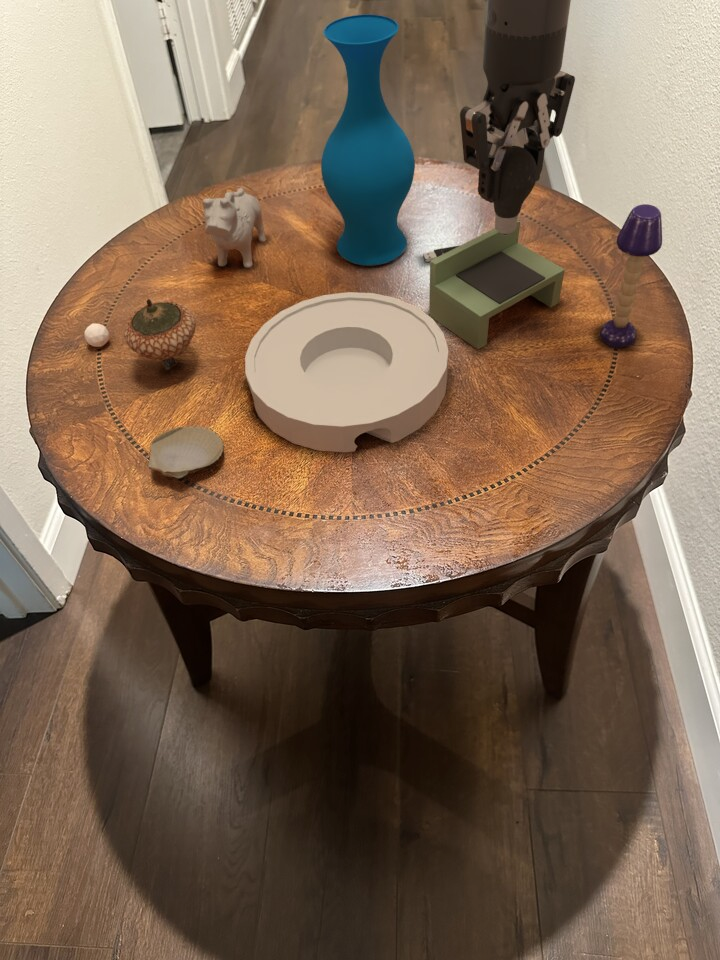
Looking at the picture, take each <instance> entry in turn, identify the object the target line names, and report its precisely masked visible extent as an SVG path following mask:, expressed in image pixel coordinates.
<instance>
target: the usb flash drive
mask: <svg viewBox="0 0 720 960" xmlns="http://www.w3.org/2000/svg"><path fill="white" fill-rule="evenodd" d="M461 245H462V244H460V245H454V246H448V247H443V248H436V249H434V250H433V251H432V252H425V253H422V258H423V259H424V262H430V261H431V260H433V259H435V258H437V257H439V256H441V255H443V254H445V253H447V252H449V251H451V250H453V249H455V248H457V247H459V246H461Z"/></svg>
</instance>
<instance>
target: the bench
mask: <svg viewBox="0 0 720 960" xmlns="http://www.w3.org/2000/svg"><path fill="white" fill-rule="evenodd" d="M520 226H521V220H519V218H518V219H517V226H516V230H515V231H513V232H512V233H509V235H507V236H504V235H502V234H501V233H500V232H498V231H497V230H496V229H495V227H494V228H491V229H490V230H488V231H487V232H484V233H482V234H480V235H478V236H477V237H474V238H472V239H470V240H468V241H466V242H464V243H462V244H460V245H461V246H460V245H458V246H459V247H457V248H455V249H453V250H451V251H449V252H447V253H445V254H443V255H441V256H439V257H437V258H435V259H433V260H431V261H429V307H428V309H429V311H428V316H430V317H431V318H432V319H433V320H434V321H436V322H438V323H439V324H441V325H443V327H445V328H446V329H448V330H449V331H451V332H452V333H453V334H455V335H456V336H458V337H459V338H460V339H461V340H463V341H464V342H466V343H468V345H470V346H471V347H473V348H475V350H478V351H479V350H480V349H482V348H484V347H485V346H487V344H488V335H489V324H490V318H492V317H494V316H495V315H497V314H499V313H501V312H503V311H504V310H507V309H508V308H510V307H512V306H514V305H515V304H517V303H518V302H520V301H522V300H524V299H526V298H527V297H530V296H531V297H533V298H534V299H536V300H538V301H539V302H541V303H542V304H544V305H546V306H547V307H549V308H553V307H555V306H556V305H558V304H560V299H561V293H562V288H563V282H564V277H565V271H566V270H565V268H563V267H561V266H560V265H558V264H556V263H555V262H553V261H551V260H550V259H547V258H546V257H544V256H542V255H540V254H539V253H537V252H535V251H533V250H532V249H530V248H528V247H527V246H525V245H523V244H522V243H520V242H519V236H520V229H521V227H520Z"/></svg>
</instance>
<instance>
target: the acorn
mask: <svg viewBox="0 0 720 960" xmlns="http://www.w3.org/2000/svg"><path fill="white" fill-rule="evenodd" d="M196 325H197V322H196V320H195V317H194V316H193V313H192V311H191V310H190V309H189V308H188V307H187V306H185V305H183V304H182V303H180V302H176V301H166V300H165V301H159V302H154V303H153V302H152V300H151V299H149V298H148V299H147V300H146V305H144V306H142V307H140V308H139V309H137V310H135V312H134V313H133V314H132V315H131V317H130V318H129V319H128V321H126V322H125V327H124V330H123V337H124V340H125V343H126V345H127V346H128V347H129V349H130V350H132V351H133V352H135V353H136V354H138V355H140V356H141V357H143V358H146V359H148V360H150V361H156V360H157V361H161V360H162V365H163V366H164V369H165V370H170V369H171V368H173V367H175V366H177V364H178V362H177V360H176V359H175V357H177V356H179V355H182V354H183V352H184V351H186V350H187V349H188V347H189V345H190V343H191V341H192V340H193V338H194V335H195V333H196Z"/></svg>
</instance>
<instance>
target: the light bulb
mask: <svg viewBox="0 0 720 960" xmlns="http://www.w3.org/2000/svg"><path fill="white" fill-rule="evenodd" d="M492 156H493V154H492ZM500 169H501V175H500V187H499V198H498V200H497V201H495V202H493V203H492V204H493V210H494V213H495V218H494V228H495V229H496V230H497V231H498V232H500V233H501V234H502V235H504V236H507V235H509V233H512V232H513V231H515V230H516V226H517V219H518V220H519V215H520V213H521V210H522V207H523V204H524V202H525V201H526V199H527V198H528V197H529V195H531V193H532V192H533V189H534V187H535V185H536V182H537V181H536V179H537V165H536V162H535V160H534V158H533V156H532V155H531V154H530V153H529V151H527V150H526V149H524V147H522V146H519V145H512V146H511V148H509V149H507V150H506V152H505V155H504V158H503V160H502V163H501V166H500Z"/></svg>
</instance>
